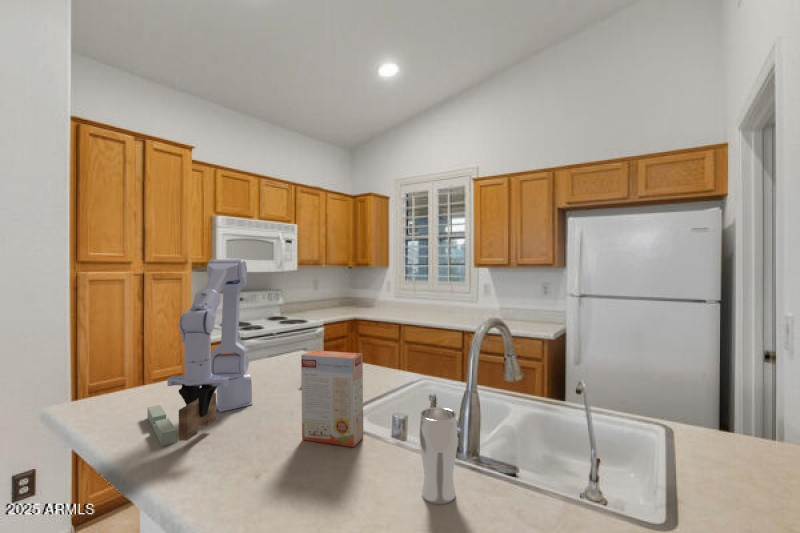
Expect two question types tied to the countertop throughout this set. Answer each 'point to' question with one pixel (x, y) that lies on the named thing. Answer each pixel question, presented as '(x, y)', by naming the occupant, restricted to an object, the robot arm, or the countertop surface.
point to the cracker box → (332, 397)
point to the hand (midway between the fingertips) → (198, 415)
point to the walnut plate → (195, 418)
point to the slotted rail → (161, 425)
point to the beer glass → (438, 453)
